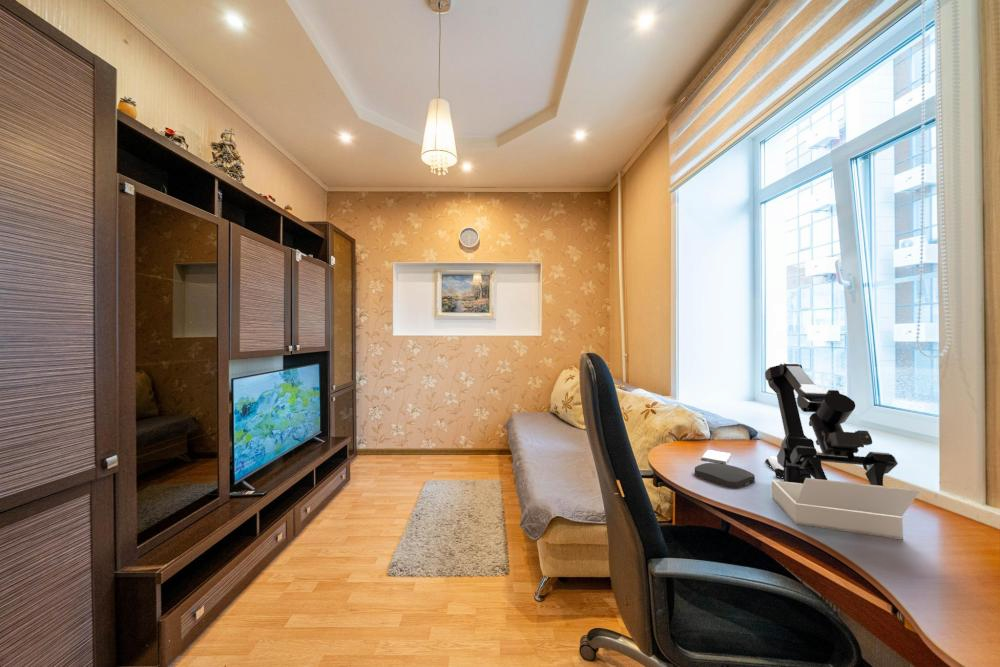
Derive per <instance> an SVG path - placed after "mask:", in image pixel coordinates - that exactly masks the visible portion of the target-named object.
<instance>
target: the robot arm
mask: <svg viewBox="0 0 1000 667" xmlns="http://www.w3.org/2000/svg"><path fill="white" fill-rule="evenodd" d="M764 375H765V376H764V377H765V380H766V381H767V384H768V386H769V388H770V389H772V391H773V392H774V393H775V394H776V398H777V401H778V406H779V411H780V416H781V422H782V427H783V431H784V435H785V436H784V438H783V440H782V442H781V444H780V447H781V448H780V450H779V451H778V453H777V460H778V463H779V464H780V465H781V466H782V467H784V478H783V480H782V481H783V482H792V483H801V484H803V483H804V481H805V478H812V479H821V480H828V478H827V476H826V474H825V470H824V469H823V467H822V462H824V463H838V464H847V465H849V464H850V465H857V466H858V465H859V466H862V467H863V470H865V473H864V474H865V476H866V479H867V480H868V482H869V485H878V486H884V477H885V475H886V474H888V473H890V472H891V471H892V470H893V469H894V468H895V467H897V466H898V464H899V463H898V461H897V459H896V458H895V456H894V455H893V454H891V453H888V452H878V451H877V452H876V451H869V452H868V453H867V454H866V455H865V456H859V455H855V454H857V453H858V452H859V448H865V446H871V445H872V444H873V440H872V436H871V435H870V432H869V431H868V430H860V429H859V430H857V431H856V430H855V431H854V432H851V431H844V429H843V427H842V425H841V424H843V423H845V422H847V420H848V419H849V417H850V416H851V414H852V413H853V411H854V410H855V408H856V403H855V401H854V400H853V399H852V398H850V397H849V396H848V395H845V394H843V393H840V391H839V390H838V389H828V390H827V389H826V388H823V387H820V386H817V385H816V384H815V382H814V381H813V380H812V379H811V378H810V377H809V375H808V374H807V373H806V372H805V371H804V369H803V366H802V364H801V363H798V362H782V363H780V364H778V365H775V366H770V367H768V368H767V369H766V370H765V372H764ZM795 392H796V394H797V397H796V394H795ZM799 408H800V410H801V411H802V412H804V413H812V414H810V417H809V422H808V425H809V427H812V431H813V433H814V435H815V437H816V439H815V441H814V440H813V439H812V438H809V437H808V436H807V435H805V432H804V428H803V425H802V421H801V416H800V412H799ZM814 442H815V443H814ZM815 444H816V446H819V448H820V451H821V452H817V449H816V448H815Z"/></svg>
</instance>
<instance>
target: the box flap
mask: <svg viewBox="0 0 1000 667" xmlns="http://www.w3.org/2000/svg"><path fill="white" fill-rule="evenodd" d="M920 492H921V490H920V489H914V488H913V489H912V488H904V487H896V486H895V487H894V486H884V485H883V486H878V485H871V484H866V483H855V482H848V481H841V480H840V481H838V480H837V481H836V480H830V479H827V480H821V479H815V478H813V477H811V478H805V481H804V483H803V486H802V488H801V491H800V493H799V495H798V498H797V500H796V503H799V504H807V505H815V506H822V507H830V508H838V509H846V510H854V511H861V512H869V513H877V514H885V515H893V516H900V517H902V518H903V516H904V514H905V513H906V512H907V510H908V509H909V507H910V506H911V505H912V503H914V501H915V499H916V498H917V497H918V495H919V494H920Z"/></svg>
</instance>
